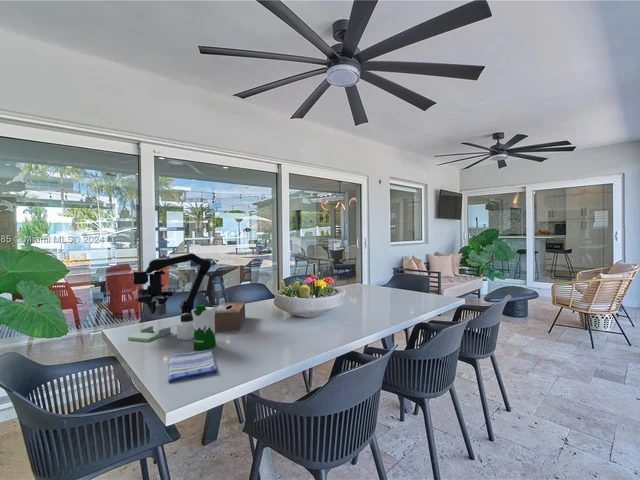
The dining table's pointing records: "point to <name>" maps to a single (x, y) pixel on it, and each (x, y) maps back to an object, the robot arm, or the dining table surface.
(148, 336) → the deck
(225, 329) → the tissue box cover
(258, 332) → the dining table surface
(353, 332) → the dining table surface
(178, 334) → the medicine bottle
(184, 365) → the dish towel
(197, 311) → the milk carton
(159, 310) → the gray cuboid pillar
